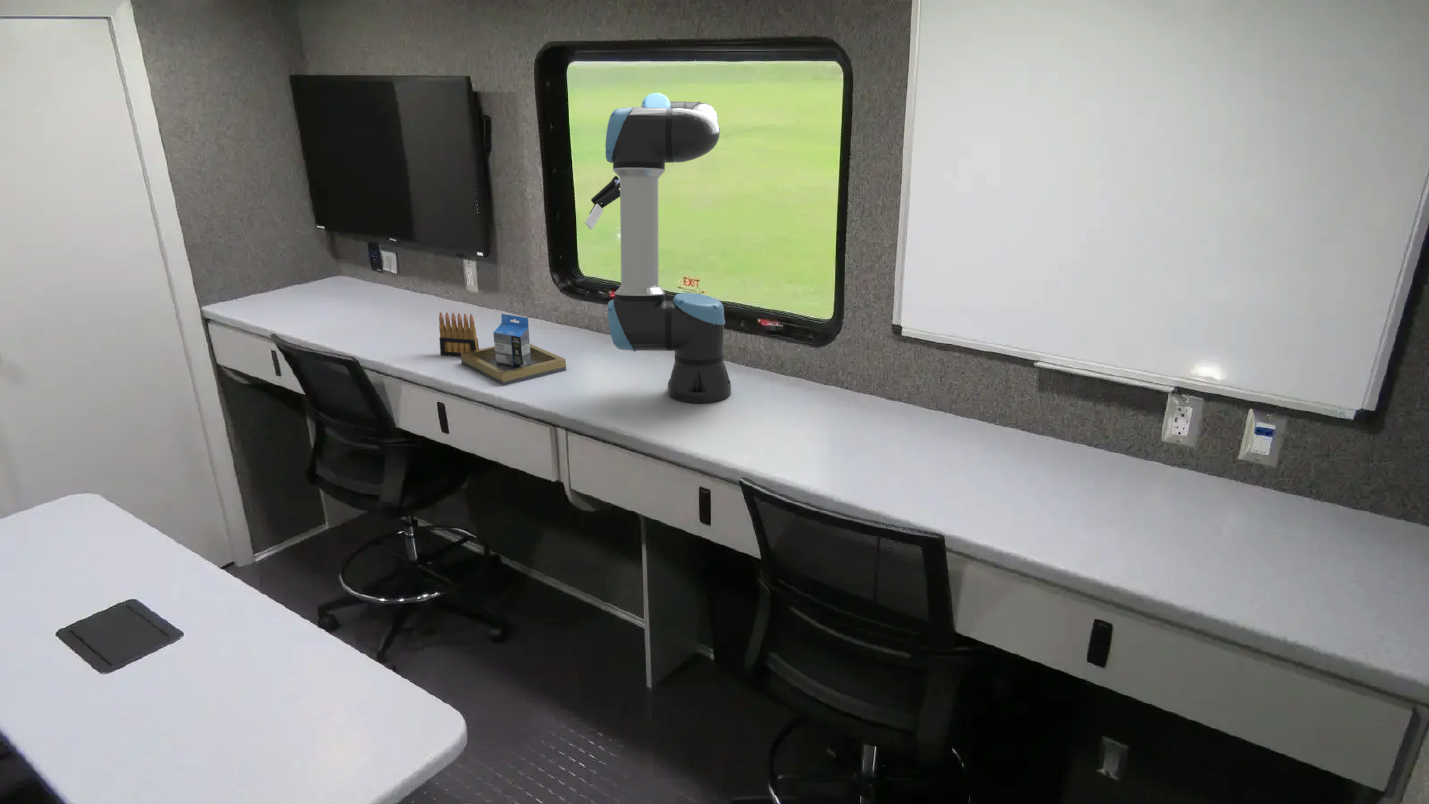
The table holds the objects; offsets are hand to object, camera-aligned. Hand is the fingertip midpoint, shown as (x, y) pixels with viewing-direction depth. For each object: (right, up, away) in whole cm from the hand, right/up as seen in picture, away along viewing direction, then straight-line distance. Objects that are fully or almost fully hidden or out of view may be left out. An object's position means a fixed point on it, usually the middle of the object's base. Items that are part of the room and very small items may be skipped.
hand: (606, 228), depth 227 cm
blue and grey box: (-23, -36, -6) cm, 44 cm away
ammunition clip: (-40, -34, +3) cm, 52 cm away
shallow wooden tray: (-23, -37, -6) cm, 44 cm away
